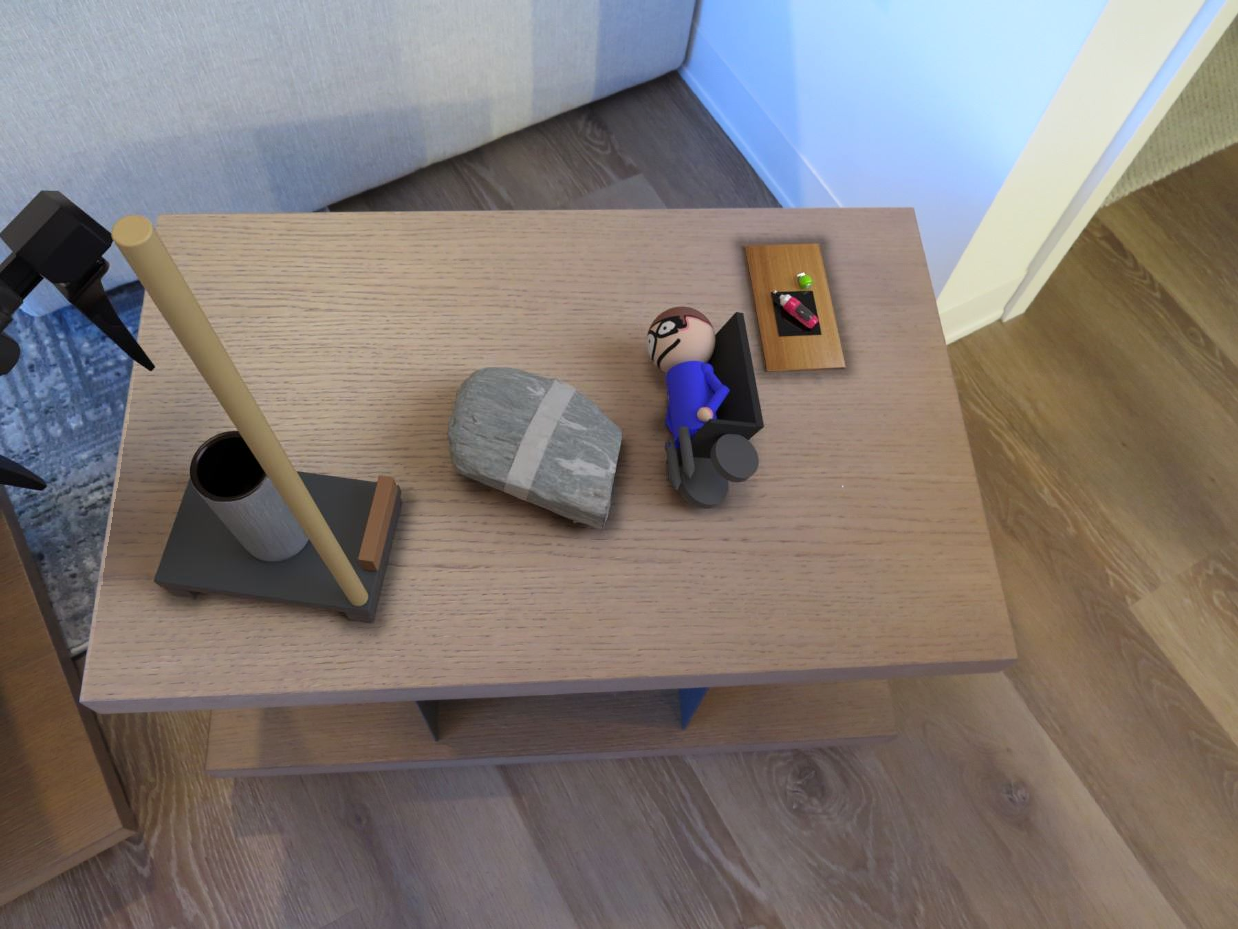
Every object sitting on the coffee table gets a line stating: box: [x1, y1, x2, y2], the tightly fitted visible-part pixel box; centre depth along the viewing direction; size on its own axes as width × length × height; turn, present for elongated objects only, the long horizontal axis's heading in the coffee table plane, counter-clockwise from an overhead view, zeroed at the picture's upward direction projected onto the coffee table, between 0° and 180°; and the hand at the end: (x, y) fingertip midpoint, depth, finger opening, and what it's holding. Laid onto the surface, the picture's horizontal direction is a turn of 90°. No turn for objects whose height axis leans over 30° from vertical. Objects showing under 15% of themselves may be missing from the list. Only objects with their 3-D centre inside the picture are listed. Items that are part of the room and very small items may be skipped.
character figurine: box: [646, 306, 765, 510], centre depth 69 cm, size 8×7×15 cm
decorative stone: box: [446, 366, 623, 531], centre depth 68 cm, size 13×10×6 cm
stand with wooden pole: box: [110, 214, 403, 624], centre depth 48 cm, size 14×9×40 cm, turn 83°
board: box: [744, 243, 847, 373], centre depth 77 cm, size 6×12×2 cm, turn 5°
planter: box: [189, 430, 309, 562], centre depth 59 cm, size 4×4×10 cm
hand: (98, 425), depth 57 cm, fingers open, 9 cm apart
